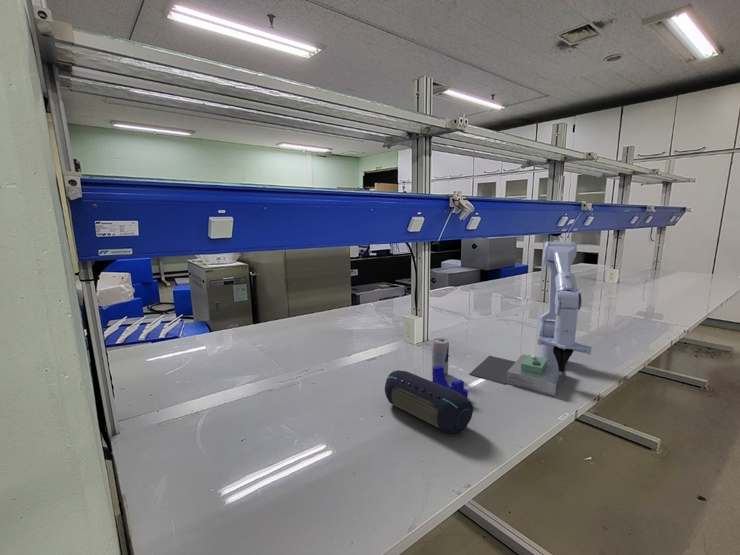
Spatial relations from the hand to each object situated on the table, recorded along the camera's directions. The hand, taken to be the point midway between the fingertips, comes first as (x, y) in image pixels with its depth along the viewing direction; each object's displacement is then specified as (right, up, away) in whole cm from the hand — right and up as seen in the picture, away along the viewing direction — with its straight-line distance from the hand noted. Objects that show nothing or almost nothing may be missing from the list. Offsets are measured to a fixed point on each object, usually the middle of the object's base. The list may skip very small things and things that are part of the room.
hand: (561, 370), depth 110 cm
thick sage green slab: (-6, 0, +5) cm, 8 cm away
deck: (-5, -4, +5) cm, 8 cm away
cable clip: (-36, -6, -3) cm, 37 cm away
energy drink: (-37, -4, +9) cm, 38 cm away
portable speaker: (-46, -8, -16) cm, 49 cm away
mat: (-16, -3, +13) cm, 20 cm away
